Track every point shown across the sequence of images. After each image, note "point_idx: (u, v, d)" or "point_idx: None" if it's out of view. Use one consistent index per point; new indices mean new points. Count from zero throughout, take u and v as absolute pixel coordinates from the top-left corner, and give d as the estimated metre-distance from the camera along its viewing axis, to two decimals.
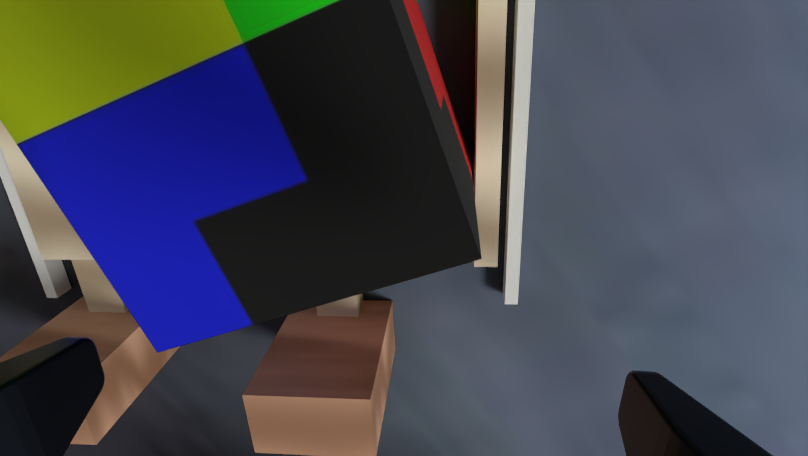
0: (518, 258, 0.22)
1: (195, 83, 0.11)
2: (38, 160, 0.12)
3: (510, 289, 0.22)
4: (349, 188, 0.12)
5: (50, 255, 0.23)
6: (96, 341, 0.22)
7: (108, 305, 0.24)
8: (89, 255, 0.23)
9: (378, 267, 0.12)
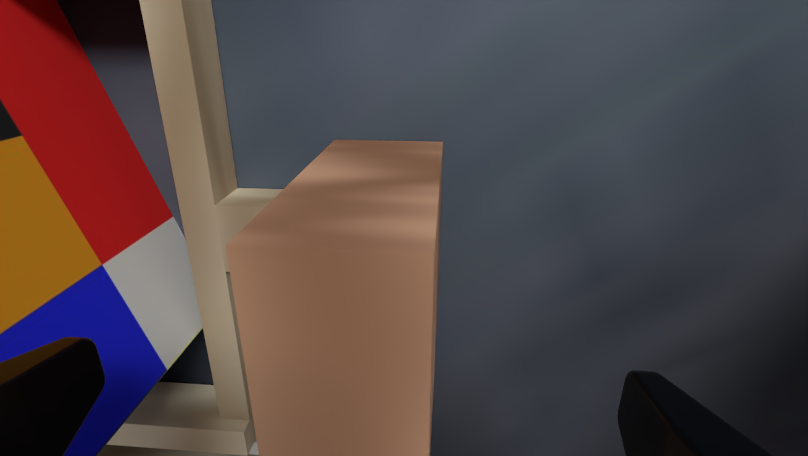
0: None
1: None
2: None
3: None
4: None
5: None
6: None
7: None
8: None
9: None
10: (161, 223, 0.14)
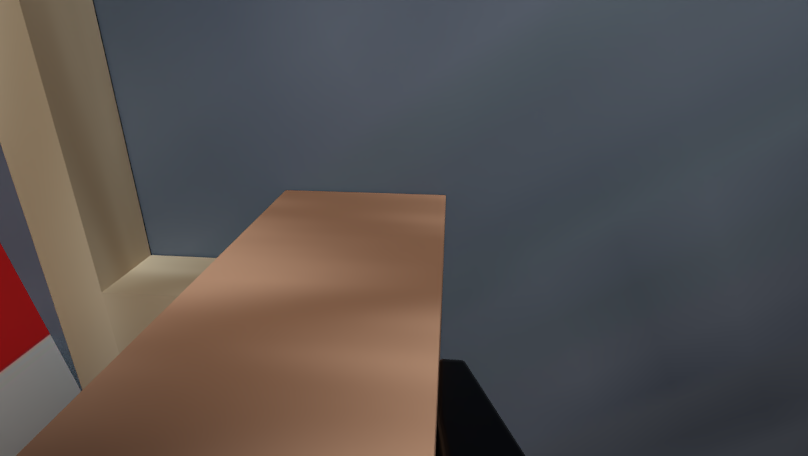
0: None
1: None
2: None
3: None
4: None
5: None
6: None
7: None
8: None
9: None
10: (26, 351, 0.10)
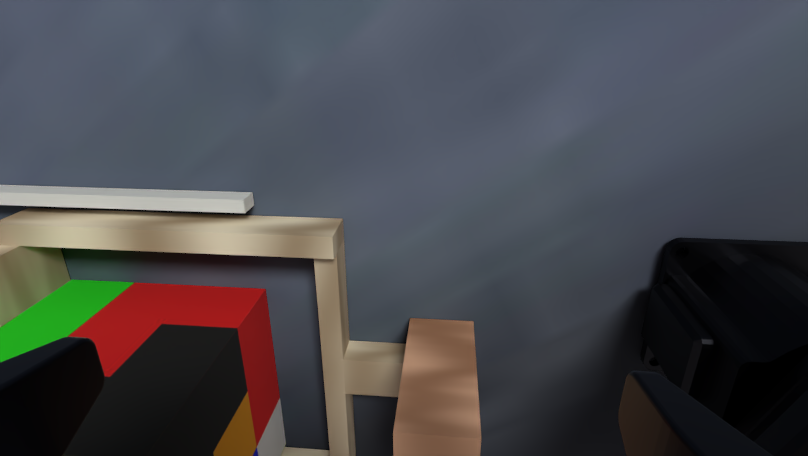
0: (188, 200, 0.20)
1: None
2: None
3: (225, 208, 0.20)
4: None
5: None
6: None
7: None
8: None
9: None
10: (275, 406, 0.25)
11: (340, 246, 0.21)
